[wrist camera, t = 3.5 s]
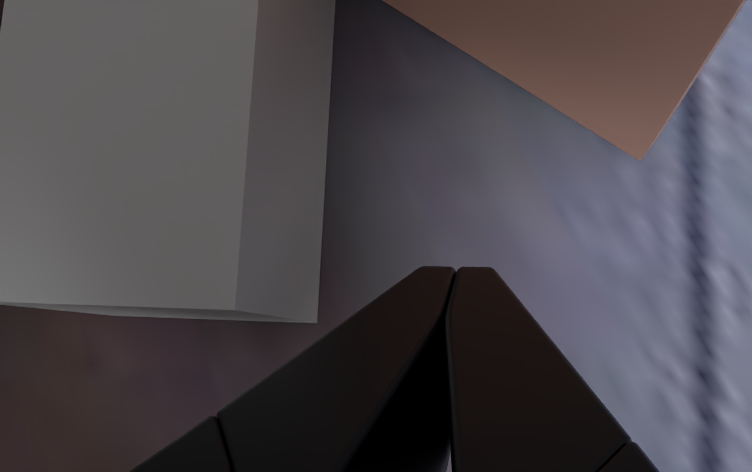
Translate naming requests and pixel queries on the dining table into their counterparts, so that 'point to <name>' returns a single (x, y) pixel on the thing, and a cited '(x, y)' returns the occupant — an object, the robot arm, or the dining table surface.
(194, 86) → the case
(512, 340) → the robot arm
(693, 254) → the dining table surface
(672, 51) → the side door
